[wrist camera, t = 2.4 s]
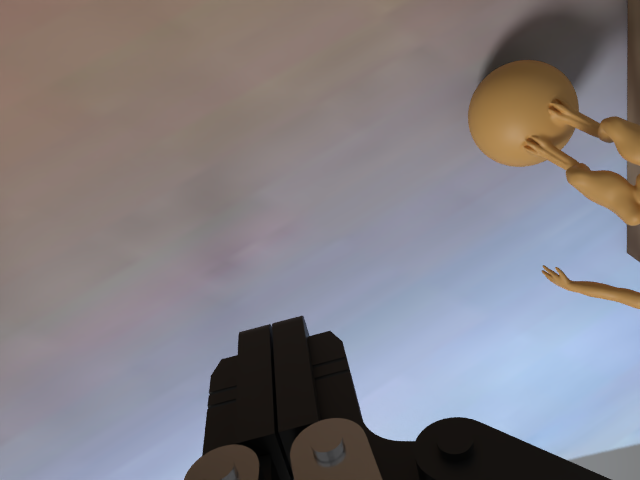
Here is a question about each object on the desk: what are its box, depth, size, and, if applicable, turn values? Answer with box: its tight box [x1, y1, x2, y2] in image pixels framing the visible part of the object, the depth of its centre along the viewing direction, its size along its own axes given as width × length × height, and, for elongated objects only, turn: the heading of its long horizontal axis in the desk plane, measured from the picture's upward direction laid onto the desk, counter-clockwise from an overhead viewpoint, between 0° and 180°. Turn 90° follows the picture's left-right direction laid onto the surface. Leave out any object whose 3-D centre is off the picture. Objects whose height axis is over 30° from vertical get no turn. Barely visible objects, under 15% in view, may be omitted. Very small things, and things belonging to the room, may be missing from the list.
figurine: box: [468, 60, 640, 309], centre depth 19 cm, size 8×6×12 cm
